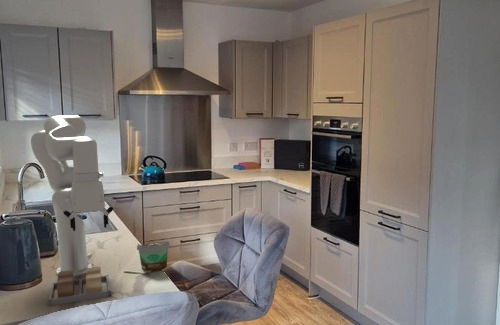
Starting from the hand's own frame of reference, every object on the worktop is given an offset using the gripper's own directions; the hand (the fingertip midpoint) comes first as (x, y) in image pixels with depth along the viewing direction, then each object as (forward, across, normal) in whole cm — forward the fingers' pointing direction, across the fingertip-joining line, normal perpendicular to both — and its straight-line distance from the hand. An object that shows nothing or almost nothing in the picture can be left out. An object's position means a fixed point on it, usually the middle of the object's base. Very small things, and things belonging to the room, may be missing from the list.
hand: (90, 228), depth 148 cm
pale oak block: (+21, 0, +1) cm, 21 cm away
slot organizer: (+21, +4, +1) cm, 22 cm away
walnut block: (+21, +8, +1) cm, 23 cm away
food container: (+22, -22, -11) cm, 33 cm away
